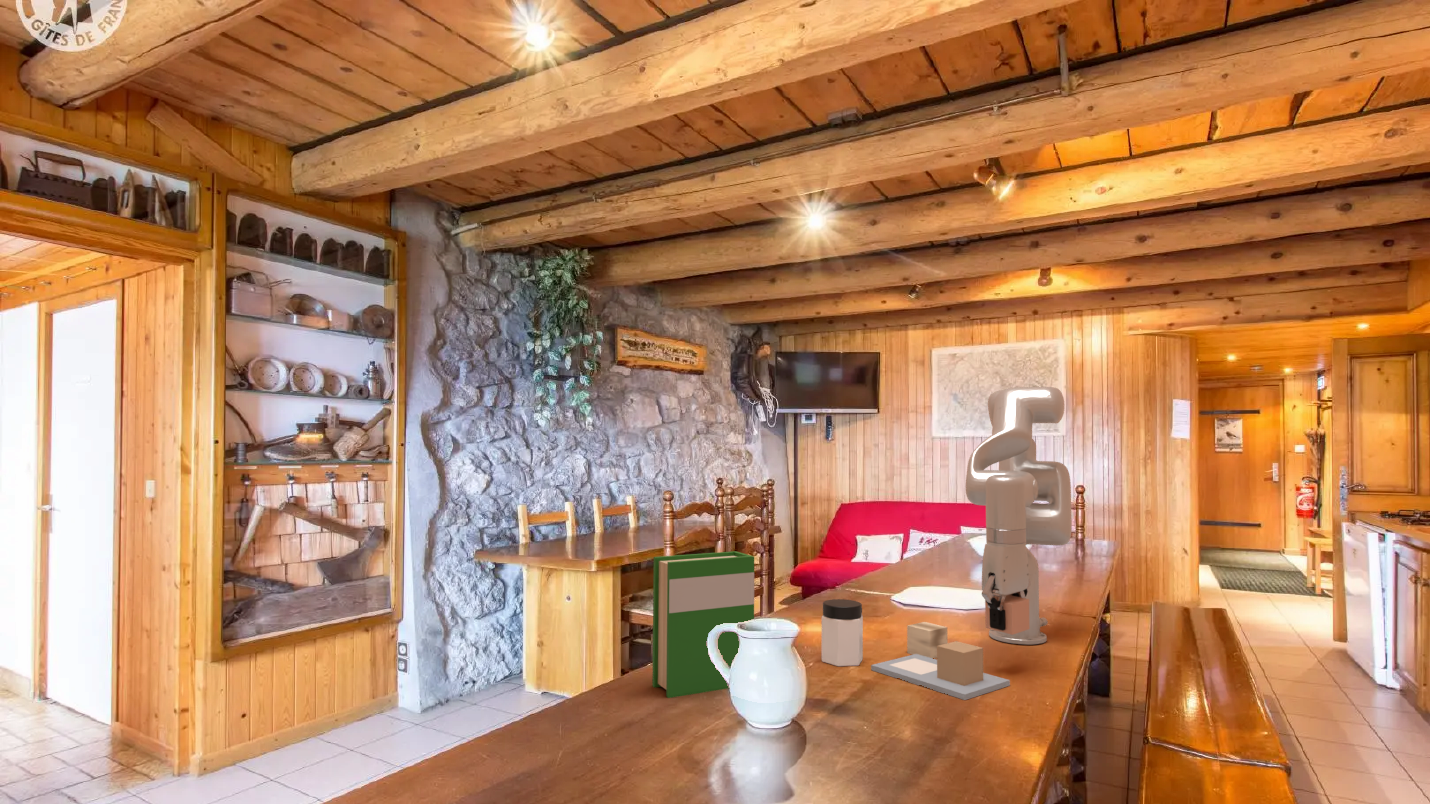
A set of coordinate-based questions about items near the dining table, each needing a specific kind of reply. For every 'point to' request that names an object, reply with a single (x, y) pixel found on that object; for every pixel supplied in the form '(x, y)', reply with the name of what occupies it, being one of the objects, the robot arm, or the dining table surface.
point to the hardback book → (697, 617)
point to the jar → (842, 632)
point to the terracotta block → (1012, 614)
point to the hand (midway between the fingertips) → (1007, 624)
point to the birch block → (925, 638)
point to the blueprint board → (938, 682)
